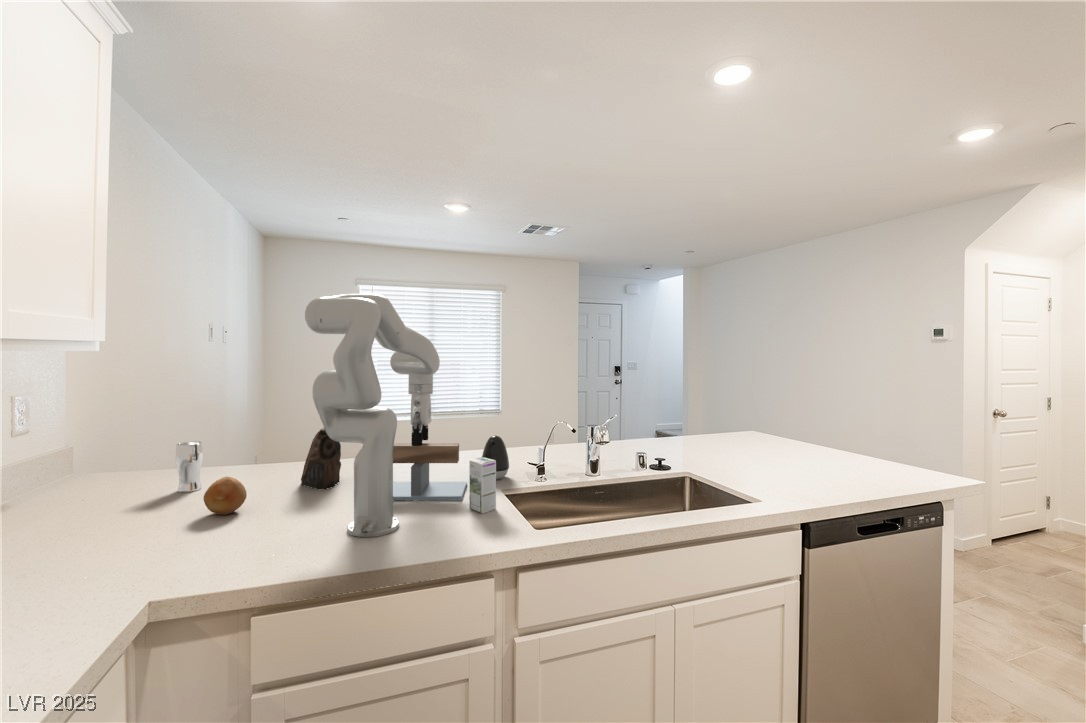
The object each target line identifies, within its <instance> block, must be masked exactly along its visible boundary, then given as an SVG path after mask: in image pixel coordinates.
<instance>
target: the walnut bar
mask: <svg viewBox="0 0 1086 723" xmlns="http://www.w3.org/2000/svg"><path fill="white" fill-rule="evenodd" d="M459 460H460V443H453V442H451V443H449V442H447V443H444V442H443V443H439V442H438V443H434V442H432V443H431V442H428V443H427V442H426V443H423V442H422V446H412V442H410V443H408V442H407V443H404V442H403V443H401V442H400V443H395V442H394V447H393V464H414V463H429V464H458V463H459V462H460V461H459Z"/></svg>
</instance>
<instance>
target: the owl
mask: <svg viewBox="0 0 1086 723" xmlns="http://www.w3.org/2000/svg"><path fill="white" fill-rule="evenodd" d="M341 445H342V444H341V442H337V441H334V440H332V439H331V438H330V437H329V436H328V435H327V433H326V431H325V428H324V427H322V428H321V429H319V430H318V432H316V434H315V435H314V437H313V439H312V441H311V444H310V447H309V450H308V453H307V456H306V459H305V462H304V464H303V470H302V475H301V478H300V481H301V483H300V485H301V486H304V485H305V486H304V487H307V486H309V487H308V488H311V487H312V489H315V488H316V489H315V490H318V489H325V490H327V488H329V489H332V488H334V486H335V487H336V485H335V484H337V485H338V482H339V483H340V473H341V469H342V468H341V467H342V463H341V462H342V461H341V457H342V456H341V455H342V452H341V451H342V450H341V449H342V446H341ZM331 487H332V488H331Z"/></svg>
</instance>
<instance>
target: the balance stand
mask: <svg viewBox="0 0 1086 723" xmlns="http://www.w3.org/2000/svg"><path fill="white" fill-rule="evenodd" d="M467 485H468V482H467V481H430V463H412V465H411V467H410V481H393V500H429V501H462V500H463V497H464V494H465V491H466V489H467Z"/></svg>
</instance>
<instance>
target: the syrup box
mask: <svg viewBox="0 0 1086 723" xmlns="http://www.w3.org/2000/svg"><path fill="white" fill-rule="evenodd" d="M496 509H497V479H496V460H492V459H488V458H484V457H482V456H481V457H477V458H476V457H475V458H473V459H470V460H469V510H472V511H475V512H477V513H480V514H484V513H488V512H491V511H494V510H496Z"/></svg>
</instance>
